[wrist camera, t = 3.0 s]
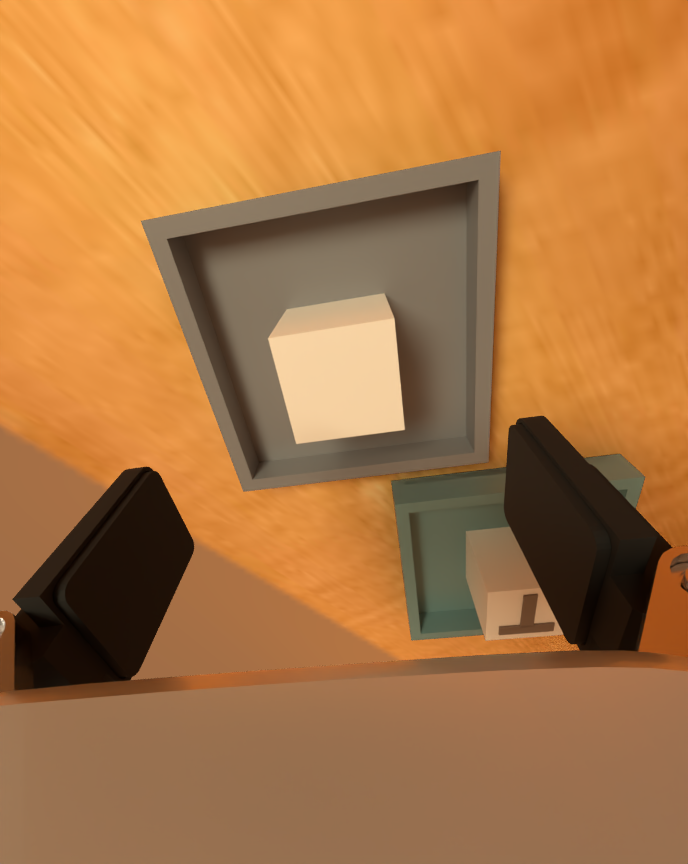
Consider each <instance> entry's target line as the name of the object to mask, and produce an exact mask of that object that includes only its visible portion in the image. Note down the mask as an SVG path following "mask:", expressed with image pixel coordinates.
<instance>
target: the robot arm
mask: <svg viewBox="0 0 688 864" xmlns="http://www.w3.org/2000/svg"><path fill="white" fill-rule="evenodd" d="M504 513H505V517H506V520H507V522H508V524H509V526H510V528H511V530H512V532H513V534H514V536H515V538H516V540H517V542H518V544H519V546H520V548H521V550H522V552H523V554H524V556H525V558H526V560H527V562H528V564H529V566H530V568H531V570H532V572H533V574H534V576H535V578H536V580H537V582H538V584H539V586H540V588H541V590H542V592H543V594H544V596H545V598H546V600H547V602H548V604H549V606H550V608H551V610H552V612H553V614H554V616H555V618H556V620H557V622H558V624H559V626H560V628H561V630H562V632H563V634H564V636H565V638H566V640H567V641H568V642H569V643H570V644H577V645H578V647H579V649H580V651H555V652H535V653H515V654H495V655H477V656H462V657H447V658H432V659H417V660H402V661H387V662H373V663H357V664H343V665H330V666H316V667H302V668H287V669H274V670H260V671H246V672H232V673H219V674H206V675H192V676H180V677H167V678H154V679H141V680H131V678H132V677H133V676H134V675H136V673H138V671H139V669H140V667H141V665H142V663H143V661H144V659H145V657H146V654H147V652H148V650H149V648H150V646H151V644H152V641H153V639H154V637H155V635H156V633H157V631H158V628H159V626H160V624H161V622H162V620H163V617H164V615H165V613H166V611H167V609H168V606H169V604H170V602H171V600H172V598H173V596H174V594H175V591H176V589H177V587H178V585H179V583H180V580H181V578H182V576H183V574H184V572H185V570H186V567H187V565H188V563H189V561H190V559H191V556H192V554H193V551H194V542H193V539H192V537H191V535H190V533H189V531H188V529H187V527H186V525H185V523H184V521H183V519H182V518H181V516H180V514H179V512H178V510H177V508H176V506H175V504H174V502H173V500H172V498H171V496H170V494H169V492H168V490H167V488H166V486H165V484H164V482H163V480H162V478H161V476H160V475H159V473H158V472H156V471H153V470H152V469H151V468H150V467H141V468H133V469H127V470H125V471H123V472H122V473H121V475H120V476H119V477H118V478H117V479H116V480H115V482H114V483H113V484H112V485H111V486H110V487H109V488H108V490H107V491H106V492H105V493H104V494H103V495H102V497H101V498H100V499H99V500H98V501H97V502H96V503H95V505H94V506H93V507H92V508H91V509H90V511H89V512H88V513H87V514H86V515H85V516H84V517H83V518H82V520H81V521H80V522H79V523H78V524H77V525H76V527H75V528H74V529H73V530H72V531H71V532H70V533H69V535H68V536H67V537H66V538H65V539H64V540H63V542H62V543H61V544H60V545H59V546H58V547H57V548H56V550H55V551H54V552H53V553H52V554H51V555H50V557H49V558H48V559H47V560H46V561H45V562H44V563H43V565H42V566H41V567H40V568H39V569H38V570H37V571H36V573H35V574H34V575H33V576H32V578H30V580H29V581H28V582H27V583H26V584H25V585H24V586H23V588H22V589H21V590H20V591H19V592H18V593H17V595H16V596H15V597H14V598H13V600H14V601H15V603H17V605H18V606H19V607H20V608H21V610H20V611H19V613H18V614H17V615H16V616H15V615H13V614H12V613H11V612H9V611H0V864H688V546H680V547H674V548H672V547H671V546H670V545H669V544H668V543H667V542H666V541H665V539H664V538H663V537H662V536H661V535H660V534H659V533H658V532H657V531H656V530H655V529H654V528H653V527H652V526H651V525H650V524H649V523H648V522H647V521H646V519H645V518H644V517H643V516H642V515H641V514H640V513H639V512H638V511H637V510H636V509H635V508H634V507H633V506H632V505H631V504H630V503H629V502H628V500H627V499H626V498H625V497H624V496H623V495H622V494H621V493H620V492H619V491H618V490H617V489H616V488H615V487H614V486H613V485H612V484H611V483H610V482H609V480H608V479H607V478H606V477H605V476H604V475H603V474H602V473H601V472H600V471H599V470H598V469H597V468H596V467H595V466H593V465H592V464H589V463H588V462H587V461H586V460H585V459H584V458H583V457H582V456H581V455H580V454H579V452H578V451H577V450H576V449H575V448H574V447H573V446H572V445H571V444H570V443H569V442H568V441H567V440H566V439H565V437H564V436H563V435H562V434H561V433H560V432H559V431H558V430H557V429H556V428H555V427H554V426H553V425H552V424H551V422H550V421H549V420H548V419H547V418H546V417H544V416H536V417H528V418H520V419H518V420H517V422H516V425H511V426H510V428H509V436H508V450H507V465H506V480H505V494H504Z"/></svg>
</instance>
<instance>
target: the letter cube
mask: <svg viewBox="0 0 688 864" xmlns="http://www.w3.org/2000/svg"><path fill="white" fill-rule="evenodd" d="M466 580H467V583H468V586H469V589H470V592H471V596H472V599H473V602H474V605H475V608H476V612H477V615H478V618H479V621H480V624H481V628H482V631H483V634H484V637H485V640H486V641H488V640H501V639H514V638H527V637H541V636H554V635H564V634H563V632H562V630H561V628H560V626H559V624H558V622H557V620H556V618H555V616H554V614H553V612H552V610H551V608H550V606H549V604H548V602H547V600H546V598H545V596H544V594H543V592H542V590H541V588H540V586H539V584H538V582H537V580H536V578H535V576H534V574H533V572H532V570H531V568H530V566H529V564H528V562H527V560H526V558H525V556H524V554H523V552H522V550H521V548H520V546H519V544H518V542H517V540H516V538H515V536H514V534H513V532H512V530H511V528H510V527H501V528H491V529H482V530H472V531H466Z"/></svg>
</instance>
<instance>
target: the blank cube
mask: <svg viewBox="0 0 688 864" xmlns="http://www.w3.org/2000/svg"><path fill="white" fill-rule="evenodd" d="M268 340H269V344H270V348H271V352H272V355H273V359H274V363H275V366H276V370H277V374H278V378H279V381H280V385H281V389H282V393H283V396H284V400H285V404H286V408H287V411H288V415H289V419H290V423H291V426H292V430H293V434H294V438H295V441H296V444H300V443H308V442H316V441H323V440H331V439H339V438H346V437H354V436H362V435H369V434H377V433H385V432H392V431H400V430H405V426H404V416H403V405H402V394H401V383H400V373H399V362H398V351H397V341H396V330H395V319H394V316H393V313H392V311H391V308H390V306H389V303H388V301H387V298H386V296H385V293H383V294H377V295H371V296H364V297H358V298H352V299H346V300H340V301H334V302H328V303H322V304H316V305H310V306H304V307H298V308H292V309H286V311H285V313H284V314H283V316H282V317H281V319H280V320H279V322H278V323H277V325H276V327H275V328H274V330H273V331H272V333H271V334H270V336H269V338H268Z"/></svg>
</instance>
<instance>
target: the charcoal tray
mask: <svg viewBox="0 0 688 864" xmlns="http://www.w3.org/2000/svg"><path fill="white" fill-rule="evenodd" d="M500 152H501V151H497V152H492V153H487V154H482V155H476V156H471V157H466V158H461V159H456V160H451V161H446V162H441V163H435V164H430V165H425V166H420V167H415V168H410V169H405V170H400V171H395V172H389V173H384V174H379V175H374V176H369V177H364V178H359V179H354V180H348V181H343V182H338V183H333V184H328V185H323V186H318V187H313V188H308V189H302V190H297V191H292V192H287V193H282V194H277V195H272V196H267V197H261V198H256V199H251V200H246V201H241V202H236V203H231V204H226V205H221V206H215V207H210V208H205V209H200V210H195V211H190V212H185V213H180V214H174V215H169V216H164V217H159V218H154V219H149V220H144V221H141V222H142V225H143V228H144V230H145V233H146V236H147V238H148V241H149V243H150V246H151V249H152V251H153V254H154V257H155V259H156V262H157V265H158V267H159V270H160V272H161V275H162V278H163V280H164V283H165V286H166V288H167V291H168V294H169V296H170V299H171V301H172V304H173V307H174V309H175V312H176V315H177V317H178V320H179V323H180V325H181V328H182V330H183V333H184V336H185V338H186V341H187V344H188V346H189V349H190V352H191V354H192V357H193V359H194V362H195V365H196V367H197V370H198V373H199V375H200V378H201V381H202V383H203V386H204V388H205V391H206V394H207V396H208V399H209V402H210V404H211V407H212V410H213V412H214V415H215V417H216V420H217V423H218V425H219V428H220V431H221V433H222V436H223V439H224V441H225V444H226V446H227V449H228V452H229V454H230V457H231V460H232V462H233V465H234V468H235V470H236V473H237V475H238V478H239V481H240V483H241V486H242V489H243V491H253V490H261V489H270V488H278V487H286V486H295V485H303V484H311V483H320V482H328V481H336V480H345V479H353V478H362V477H370V476H378V475H387V474H395V473H403V472H412V471H420V470H429V469H437V468H445V467H454V466H462V465H470V464H479V463H487V462H489V437H490V411H491V385H492V359H493V334H494V308H495V282H496V256H497V230H498V204H499V178H500ZM383 293H385V296H386V298H387V301H388V303H389V306H390V308H391V311H392V313H393V316H394V319H395V330H396V341H397V351H398V362H399V373H400V383H401V394H402V405H403V416H404V426H405V430H400V431H392V432H385V433H377V434H369V435H362V436H354V437H346V438H339V439H331V440H323V441H316V442H308V443H300V444H296V441H295V438H294V434H293V430H292V426H291V423H290V419H289V415H288V411H287V408H286V404H285V400H284V396H283V393H282V389H281V385H280V381H279V378H278V374H277V370H276V366H275V363H274V359H273V355H272V352H271V348H270V344H269V340H268V338H269V336H270V334H271V333H272V331H273V330H274V328H275V327H276V325H277V323H278V322H279V320H280V319H281V317H282V316H283V314H284V313H285V311H286V309H292V308H298V307H304V306H310V305H316V304H322V303H328V302H334V301H340V300H346V299H352V298H358V297H364V296H371V295H377V294H383Z"/></svg>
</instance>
